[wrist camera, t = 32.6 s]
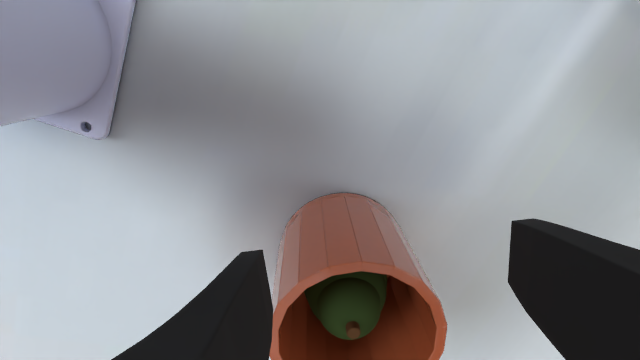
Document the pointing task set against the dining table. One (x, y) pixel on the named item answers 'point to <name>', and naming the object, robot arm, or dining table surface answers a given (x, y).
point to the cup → (347, 257)
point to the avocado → (349, 303)
